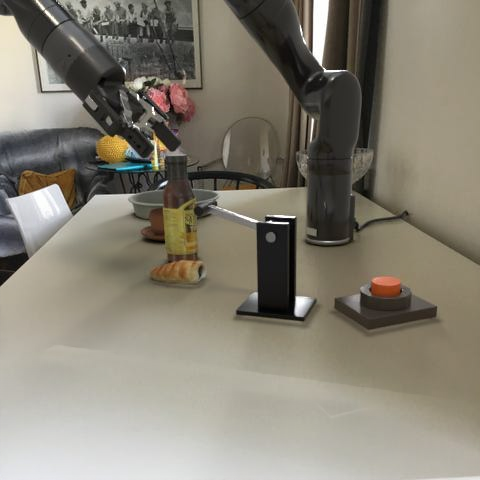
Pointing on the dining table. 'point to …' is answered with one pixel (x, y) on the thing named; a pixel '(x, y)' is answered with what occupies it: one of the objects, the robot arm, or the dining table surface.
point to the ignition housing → (384, 308)
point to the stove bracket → (277, 273)
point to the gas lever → (225, 214)
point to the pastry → (180, 272)
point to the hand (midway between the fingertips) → (164, 150)
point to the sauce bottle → (179, 211)
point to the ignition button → (385, 286)
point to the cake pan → (155, 200)
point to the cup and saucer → (155, 225)
